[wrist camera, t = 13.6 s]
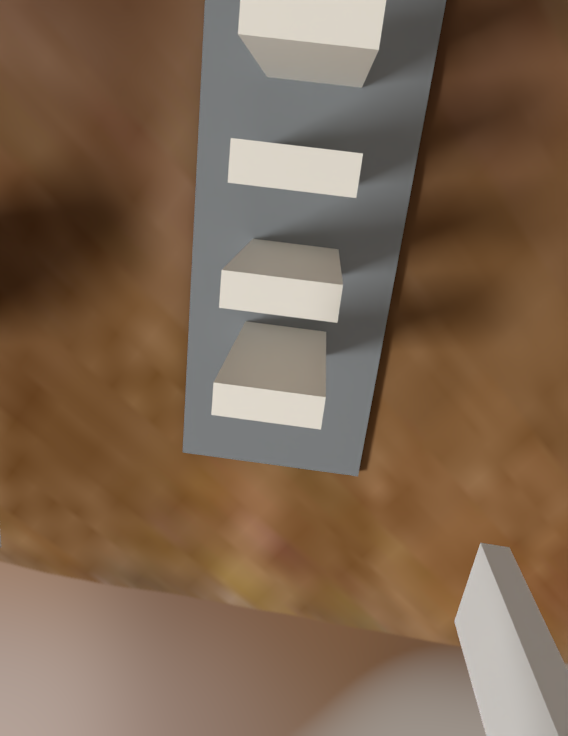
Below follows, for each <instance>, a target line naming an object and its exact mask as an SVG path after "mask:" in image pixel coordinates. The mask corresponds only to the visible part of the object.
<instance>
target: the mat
mask: <svg viewBox="0 0 568 736" xmlns="http://www.w3.org/2000/svg"><path fill="white" fill-rule="evenodd" d="M445 5H446V0H386V6H385V12H384V19H383V25H382V32H381V39H380V45H379V51H378V53H377V55H376V57H375V59H374V62H373V64H372V66H371V68H370V71H369V73H368V75H367V77H366V80H365V82H364V84H363V86H362V88H359V87H350V86H342V85H333V84H324V83H315V82H307V81H298V80H289V79H280V78H271V77H267V76H266V74H265V73H264V72H263V70H262V69H261V67H260V66H259V64H258V63H257V61H256V60H255V58H254V57H253V55H252V54H251V53H250V51H249V50H248V48H247V47H246V45H245V44H244V42H243V41H242V39H241V38H240V36H239V35H238V25H239V11H240V0H205V12H204V32H203V52H202V73H201V93H200V113H199V133H198V153H197V174H196V194H195V214H194V234H193V254H192V275H191V295H190V315H189V335H188V355H187V376H186V396H185V416H184V436H183V452H184V453H191V454H199V455H206V456H213V457H221V458H228V459H235V460H243V461H250V462H257V463H265V464H272V465H279V466H287V467H294V468H301V469H309V470H316V471H323V472H331V473H338V474H345V475H353V476H358V473H359V468H360V462H361V457H362V452H363V446H364V441H365V435H366V430H367V425H368V419H369V414H370V408H371V403H372V398H373V392H374V387H375V382H376V376H377V371H378V365H379V360H380V355H381V349H382V344H383V338H384V333H385V328H386V322H387V317H388V312H389V306H390V301H391V295H392V290H393V285H394V279H395V274H396V268H397V263H398V258H399V252H400V247H401V242H402V236H403V231H404V225H405V220H406V215H407V209H408V204H409V198H410V193H411V188H412V182H413V177H414V172H415V166H416V161H417V155H418V150H419V145H420V139H421V134H422V129H423V123H424V118H425V112H426V107H427V102H428V96H429V91H430V85H431V80H432V75H433V69H434V64H435V59H436V53H437V48H438V42H439V37H440V32H441V26H442V21H443V15H444V10H445ZM231 138H236V139H244V140H253V141H261V142H270V143H278V144H287V145H295V146H304V147H312V148H321V149H329V150H337V151H346V152H354V153H363V157H362V164H361V170H360V177H359V184H358V190H357V197H356V198H351V197H343V196H335V195H326V194H318V193H310V192H302V191H293V190H285V189H277V188H268V187H260V186H252V185H243V184H235V183H228V169H229V155H230V141H231ZM252 239H259V240H268V241H276V242H284V243H292V244H300V245H308V246H316V247H324V248H332V249H338V250H339V258H340V265H341V273H342V281H343V289H342V295H341V302H340V309H339V315H338V322H337V323H335V322H327V321H319V320H311V319H304V318H296V317H288V316H280V315H272V314H264V313H257V312H249V311H241V310H233V309H225V308H219V299H220V285H221V270H222V269H223V268H224V267H225V266H226V265H227V264H228V263H229V262H230V261H231V260H232V259H233V258H234V257H235V256H236V255H237V254H238V253H239V252H240V251H241V250H242V249H243V248H244V247H245V246H246V245H247V244H248V243H249V242H250V241H251V240H252ZM245 321H247V322H254V323H262V324H270V325H278V326H286V327H293V328H301V329H309V330H317V331H324V332H326V399H325V406H324V412H323V419H322V426H321V430H320V429H313V428H305V427H298V426H291V425H283V424H276V423H268V422H261V421H253V420H246V419H238V418H231V417H223V416H216V415H211V411H212V397H213V383H214V381H215V379H216V377H217V375H218V373H219V371H220V369H221V367H222V365H223V363H224V361H225V360H226V358H227V356H228V354H229V352H230V350H231V348H232V346H233V344H234V342H235V340H236V339H237V337H238V335H239V333H240V331H241V329H242V327H243V325H244V323H245Z"/></svg>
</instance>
